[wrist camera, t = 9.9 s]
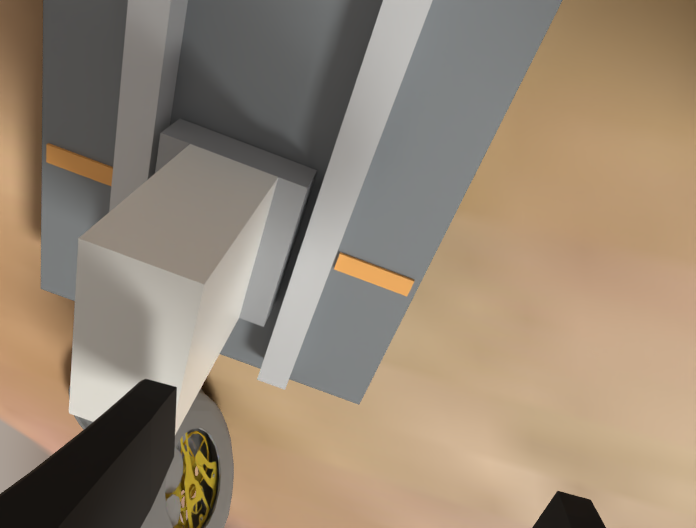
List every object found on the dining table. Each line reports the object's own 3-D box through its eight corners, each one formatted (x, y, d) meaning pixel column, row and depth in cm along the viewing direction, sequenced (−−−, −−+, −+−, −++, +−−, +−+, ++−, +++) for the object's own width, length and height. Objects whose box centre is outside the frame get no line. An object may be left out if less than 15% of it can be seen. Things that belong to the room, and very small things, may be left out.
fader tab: (317, 170, 15) (245, 299, 10) (274, 303, 18) (200, 460, 13) (180, 118, 15) (35, 222, 10) (157, 261, 18) (35, 401, 13)
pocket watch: (57, 392, 26) (-136, 623, 17) (147, 295, 22) (-49, 534, 13) (197, 487, 28) (85, 733, 19) (303, 414, 24) (219, 686, 15)
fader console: (830, -587, 9) (974, -783, 6) (366, 366, 22) (354, 425, 19) (131, -898, 9) (-3, -1236, 6) (73, 259, 21) (22, 305, 19)
